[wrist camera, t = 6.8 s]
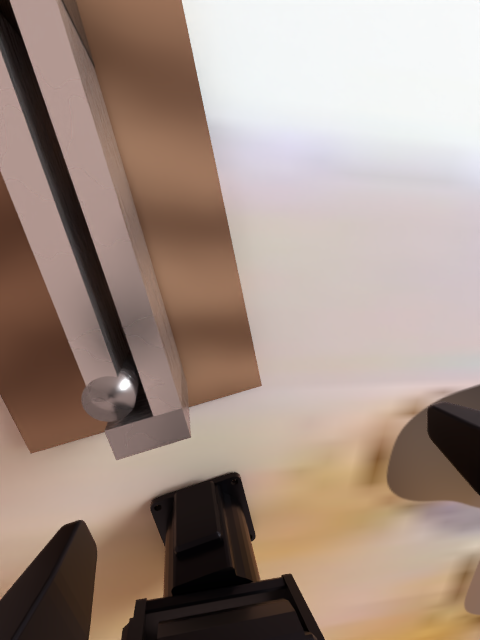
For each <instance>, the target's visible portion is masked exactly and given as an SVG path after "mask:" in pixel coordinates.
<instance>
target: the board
mask: <svg viewBox="0 0 480 640" xmlns="http://www.w3.org/2000/svg"><path fill="white" fill-rule="evenodd" d="M76 3H77V6H78V10H79V13H80V16H81V20H82V23H83V27H84V30H85V33H86V37H87V40H88V44H89V47H90V51H91V54H92V57H93V61H94V64H95V67H94V68H95V72H96V75H97V79H98V82H99V85H100V89H101V92H102V96H103V99H104V102H105V106H106V109H107V113H108V116H109V119H110V123H111V126H112V130H113V133H114V137H115V140H116V143H117V147H118V150H119V154H120V157H121V160H122V164H123V167H124V171H125V174H126V177H127V181H128V184H129V188H130V191H131V194H132V198H133V201H134V205H135V208H136V211H137V215H138V218H139V222H140V225H141V228H142V232H143V235H144V239H145V242H146V245H147V249H148V252H149V256H150V259H151V263H152V266H153V269H154V273H155V276H156V280H157V283H158V286H159V290H160V293H161V297H162V300H163V303H164V307H165V310H166V314H167V317H168V320H169V324H170V327H171V331H172V334H173V337H174V341H175V344H176V348H177V351H178V354H179V358H180V361H181V365H182V368H183V372H184V375H185V378H186V382H187V389H188V403H189V407H191V406H194V405H198V404H201V403H205V402H208V401H211V400H215V399H218V398H222V397H225V396H228V395H232V394H235V393H239V392H242V391H245V390H249V389H252V388H256V387H259V386H262V385H261V380H260V375H259V371H258V366H257V361H256V356H255V351H254V347H253V342H252V337H251V332H250V327H249V322H248V318H247V313H246V308H245V303H244V298H243V294H242V289H241V284H240V279H239V274H238V270H237V265H236V260H235V255H234V250H233V246H232V241H231V236H230V231H229V226H228V221H227V217H226V212H225V207H224V202H223V197H222V193H221V188H220V183H219V178H218V173H217V169H216V164H215V159H214V154H213V149H212V145H211V140H210V135H209V130H208V125H207V121H206V116H205V111H204V106H203V101H202V96H201V92H200V87H199V82H198V77H197V72H196V68H195V63H194V58H193V53H192V48H191V44H190V39H189V34H188V29H187V24H186V20H185V15H184V10H183V5H182V0H76ZM85 387H86V384H85V382H84V379H83V377H82V374H81V372H80V369H79V367H78V364H77V362H76V359H75V357H74V354H73V352H72V349H71V347H70V344H69V342H68V339H67V337H66V334H65V332H64V329H63V327H62V324H61V322H60V319H59V317H58V314H57V312H56V309H55V307H54V304H53V302H52V299H51V297H50V294H49V292H48V289H47V287H46V284H45V282H44V279H43V276H42V274H41V271H40V269H39V266H38V264H37V261H36V259H35V256H34V254H33V251H32V249H31V246H30V244H29V241H28V239H27V236H26V234H25V231H24V229H23V226H22V224H21V221H20V219H19V216H18V214H17V211H16V209H15V206H14V204H13V201H12V199H11V196H10V194H9V191H8V189H7V186H6V184H5V181H4V179H3V176H2V174H1V171H0V395H1V397H2V399H3V400H4V402H5V404H6V406H7V408H8V410H9V412H10V414H11V416H12V418H13V420H14V422H15V424H16V426H17V428H18V430H19V432H20V433H21V435H22V437H23V439H24V441H25V443H26V445H27V447H28V449H29V451H30V453H34V452H38V451H41V450H45V449H48V448H51V447H55V446H58V445H62V444H65V443H68V442H72V441H75V440H79V439H82V438H85V437H89V436H92V435H96V434H99V433H102V432H105V428H106V425H107V423H108V422H105V421H99V420H96V419H94V418H93V417H91V416H90V415H88V414H87V412H86V411H85V410H84V408H83V406H82V402H81V397H82V393H83V390H84V388H85Z"/></svg>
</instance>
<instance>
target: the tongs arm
mask: <svg viewBox="0 0 480 640" xmlns="http://www.w3.org/2000/svg"><path fill="white" fill-rule="evenodd" d="M0 171H1V174H2V176H3V179H4V181H5V184H6V186H7V189H8V191H9V194H10V196H11V199H12V201H13V204H14V206H15V209H16V211H17V214H18V216H19V219H20V221H21V224H22V226H23V229H24V231H25V234H26V236H27V239H28V241H29V244H30V246H31V249H32V251H33V254H34V256H35V259H36V261H37V264H38V266H39V269H40V271H41V274H42V276H43V279H44V282H45V284H46V287H47V289H48V292H49V294H50V297H51V299H52V302H53V304H54V307H55V309H56V312H57V314H58V317H59V319H60V322H61V324H62V327H63V329H64V332H65V334H66V337H67V339H68V342H69V344H70V347H71V349H72V352H73V354H74V357H75V359H76V362H77V364H78V367H79V369H80V372H81V374H82V377H83V379H84V382H85V384H86V387H85V388H84V390H83V393H82V397H81V402H82V406H83V408H84V410H85V411H86V412H87V414H88V415H90V416H91V417H93V418H94V419H96V420H99V421H105V422H112V421H117V420H120V419H122V418H124V417H125V416H127V415H128V414H129V413H130V412H131V410H132V409H133V407H134V404H135V401H136V397H137V393H138V389H139V385H140V380H141V379H140V376H139V373H138V370H137V367H136V364H135V361H134V359H133V356H132V353H131V350H130V347H129V344H128V341H127V338H126V335H125V333H124V330H123V327H122V324H121V321H120V318H119V315H118V312H117V309H116V307H115V304H114V301H113V298H112V295H111V292H110V289H109V286H108V283H107V280H106V278H105V275H104V272H103V269H102V266H101V263H100V260H99V257H98V254H97V252H96V249H95V246H94V243H93V240H92V237H91V234H90V231H89V228H88V225H87V223H86V220H85V217H84V214H83V211H82V208H81V205H80V202H79V199H78V197H77V194H76V191H75V188H74V185H73V182H72V179H71V176H70V173H69V170H68V168H67V165H66V162H65V159H64V156H63V153H62V150H61V147H60V144H59V142H58V139H57V136H56V133H55V130H54V127H53V124H52V121H51V118H50V115H49V113H48V110H47V107H46V104H45V101H44V98H43V95H42V92H41V89H40V87H39V84H38V81H37V78H36V75H35V72H34V69H33V66H32V63H31V61H30V58H29V55H28V52H27V49H26V46H25V43H24V40H23V37H22V34H21V32H20V29H19V26H18V23H17V20H16V17H15V14H14V11H13V8H12V6H11V3H10V0H0Z"/></svg>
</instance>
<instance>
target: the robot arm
mask: <svg viewBox="0 0 480 640" xmlns="http://www.w3.org/2000/svg"><path fill="white" fill-rule="evenodd" d="M427 432H428V435H429V437H430V439H431V440H432V441H433V443H434V444H435V445H436V446H437V447H438V448H439V450H440V451H441V452H442V453H443V454H444V455H445V457H446V458H447V459H448V460H449V461H450V462H451V464H452V465H453V466H454V467H455V468H456V469H457V471H458V472H459V473H460V474H461V475H462V477H464V479H465V480H466V481H467V482H468V483H469V485H470V486H471V487H472V488H473V489H474V490H475V491H476V492H477V493H478V494H479V495H480V411H479V410H475V409H471V408H467V407H463V406H459V405H455V404H451V403H447V402H439V403H436V404H432V405H430V406H428V408H427ZM234 479H236V480H235V481H232V480H234ZM156 505H160V506H156ZM150 509H151V513H152V515H153V518H154V520H155V523H156V525H157V528H158V530H159V533H160V535H161V538H162V540H163V543H164V546H165V567H164V595H163V598H157V599H151V600H147V598H144V599H138V600H136V604H135V610H134V617H133V618H130V621H129V623H128V624H127V625H126V626H125V627H124V628H123V631H122V638H121V640H325V639H324V637H323V635H322V633H321V631H320V629H319V627H318V625H317V623H316V621H315V619H314V617H313V615H312V613H311V611H310V610H309V608H308V606H307V604H306V602H305V600H304V598H303V596H302V594H301V592H300V590H299V588H298V586H297V584H296V582H295V580H294V578H293V576H292V574H285V575H282V576H281V577H279V578H273V579H267V580H262V581H261V580H260V576H259V572H258V568H257V564H256V560H255V556H254V552H253V548H252V543H251V541H253V540H254V539H255V531H254V527H253V524H252V520H251V516H250V512H249V508H248V504H247V501H246V497H245V493H244V489H243V485H242V481H241V477H240V475H239V474H238V473H236V472H234V473H230V474H227V475H224V476H221V477H218V478H215V479H212V480H208V481H205V482H202V483H199V484H196V485H193V486H190V487H187V488H184V489H181V490H178V491H175V492H172V493H169V494H166V495H163V496H160V497H157V498H155V499H153V500H152V502H151V507H150ZM96 561H97V547H96V544H95V541H94V539H93V537H92V535H91V533H90V531H89V529H88V527H87V525H86V523H85V522H84V521H83V520H78V521H75V522H72V523H69V524H66V525H64V526H63V527H61V528H60V530H59V531H58V532H57V533H56V534H55V535H54V537H53V538H52V539H51V540H50V541H49V543H48V544H47V545H46V546H45V547H44V549H43V550H42V551H41V552H40V553H39V555H38V556H37V557H36V558H35V559H34V560H33V562H32V563H31V564H30V565H29V566H28V568H27V569H26V570H25V571H24V572H23V574H22V575H21V576H20V577H19V578H18V580H17V581H16V582H15V583H14V584H13V586H12V587H11V588H10V589H9V590H8V591H7V593H6V594H5V595H4V596H3V597H2V599H1V600H0V640H88V639H89V630H90V622H91V612H92V601H93V591H94V581H95V571H96Z"/></svg>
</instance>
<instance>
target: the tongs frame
mask: <svg viewBox="0 0 480 640" xmlns="http://www.w3.org/2000/svg"><path fill="white" fill-rule="evenodd" d="M10 3H11V6H12V8H13V11H14V14H15V17H16V20H17V23H18V26H19V29H20V32H21V34H22V37H23V40H24V43H25V46H26V49H27V52H28V55H29V58H30V61H31V63H32V66H33V69H34V72H35V75H36V78H37V81H38V84H39V87H40V89H41V92H42V95H43V98H44V101H45V104H46V107H47V110H48V113H49V115H50V118H51V121H52V124H53V127H54V130H55V133H56V136H57V139H58V142H59V144H60V147H61V150H62V153H63V156H64V159H65V162H66V165H67V168H68V170H69V173H70V176H71V179H72V182H73V185H74V188H75V191H76V194H77V197H78V199H79V202H80V205H81V208H82V211H83V214H84V217H85V220H86V223H87V225H88V228H89V231H90V234H91V237H92V240H93V243H94V246H95V249H96V252H97V254H98V257H99V260H100V263H101V266H102V269H103V272H104V275H105V278H106V280H107V283H108V286H109V289H110V292H111V295H112V298H113V301H114V304H115V307H116V309H117V312H118V315H119V318H120V321H121V324H122V327H123V330H124V333H125V335H126V338H127V341H128V344H129V347H130V350H131V353H132V356H133V359H134V361H135V364H136V367H137V370H138V373H139V376H140V379H141V380H140V385H139V389H138V393H137V397H136V401H135V404H134V407H133V409H132V410H131V412H130V413H129V414H128V415H127V416H125V417H124V418H122V419H120V420H117V421H112V422H108V423H107V425H106V428H105V433H106V436H107V438H108V441H109V443H110V446H111V448H112V451H113V453H114V455H115V458H116V460H119V459H122V458H125V457H128V456H132V455H135V454H138V453H141V452H145V451H148V450H151V449H154V448H158V447H161V446H164V445H167V444H171V443H174V442H177V441H180V440H184V439H187V438H190V437H191V431H190V417H189V403H188V389H187V382H186V378H185V375H184V372H183V368H182V365H181V361H180V358H179V354H178V351H177V348H176V344H175V341H174V337H173V334H172V331H171V327H170V324H169V320H168V317H167V314H166V310H165V307H164V303H163V300H162V297H161V293H160V290H159V286H158V283H157V280H156V276H155V273H154V269H153V266H152V263H151V259H150V256H149V252H148V249H147V245H146V242H145V239H144V235H143V232H142V228H141V225H140V222H139V218H138V215H137V211H136V208H135V205H134V201H133V198H132V194H131V191H130V188H129V184H128V181H127V177H126V174H125V171H124V167H123V164H122V160H121V157H120V154H119V150H118V147H117V143H116V140H115V137H114V133H113V130H112V126H111V123H110V119H109V116H108V113H107V109H106V106H105V102H104V99H103V96H102V92H101V89H100V85H99V82H98V79H97V75H96V72H95V68H94V67H95V64H94V61H93V57H92V54H91V51H90V47H89V44H88V40H87V37H86V33H85V30H84V27H83V23H82V20H81V16H80V13H79V10H78V6H77V3H76V0H10Z"/></svg>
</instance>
